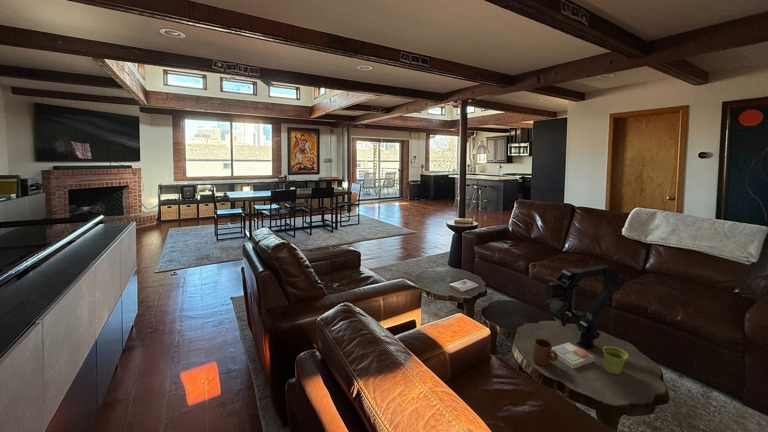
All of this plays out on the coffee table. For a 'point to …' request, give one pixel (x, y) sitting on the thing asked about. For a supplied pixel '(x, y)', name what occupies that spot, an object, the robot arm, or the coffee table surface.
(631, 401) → the coffee table surface
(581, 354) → the key coral
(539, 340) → the mug
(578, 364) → the keypad
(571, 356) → the key sage
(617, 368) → the plant pot
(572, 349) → the key cream
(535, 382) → the coffee table surface
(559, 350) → the key slate
